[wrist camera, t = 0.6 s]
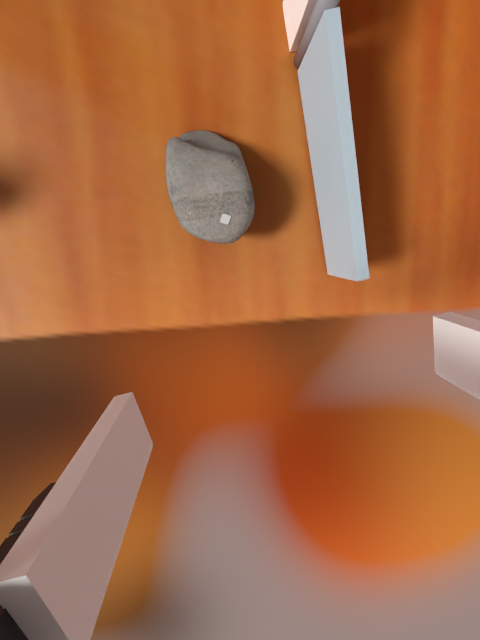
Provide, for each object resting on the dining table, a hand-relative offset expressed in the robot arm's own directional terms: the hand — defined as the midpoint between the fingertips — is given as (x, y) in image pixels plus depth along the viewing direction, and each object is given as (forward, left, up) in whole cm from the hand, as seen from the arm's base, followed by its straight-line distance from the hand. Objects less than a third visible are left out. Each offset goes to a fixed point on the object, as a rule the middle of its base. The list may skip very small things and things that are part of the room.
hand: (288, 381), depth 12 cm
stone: (-12, -1, -23) cm, 26 cm away
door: (-11, +12, -23) cm, 28 cm away
